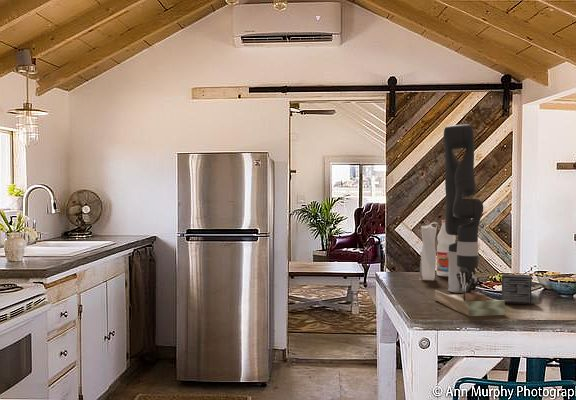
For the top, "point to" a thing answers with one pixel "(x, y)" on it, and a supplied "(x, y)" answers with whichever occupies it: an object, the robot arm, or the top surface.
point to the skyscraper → (428, 253)
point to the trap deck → (471, 305)
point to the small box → (516, 289)
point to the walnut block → (474, 296)
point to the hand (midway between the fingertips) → (467, 301)
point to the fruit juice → (443, 250)
